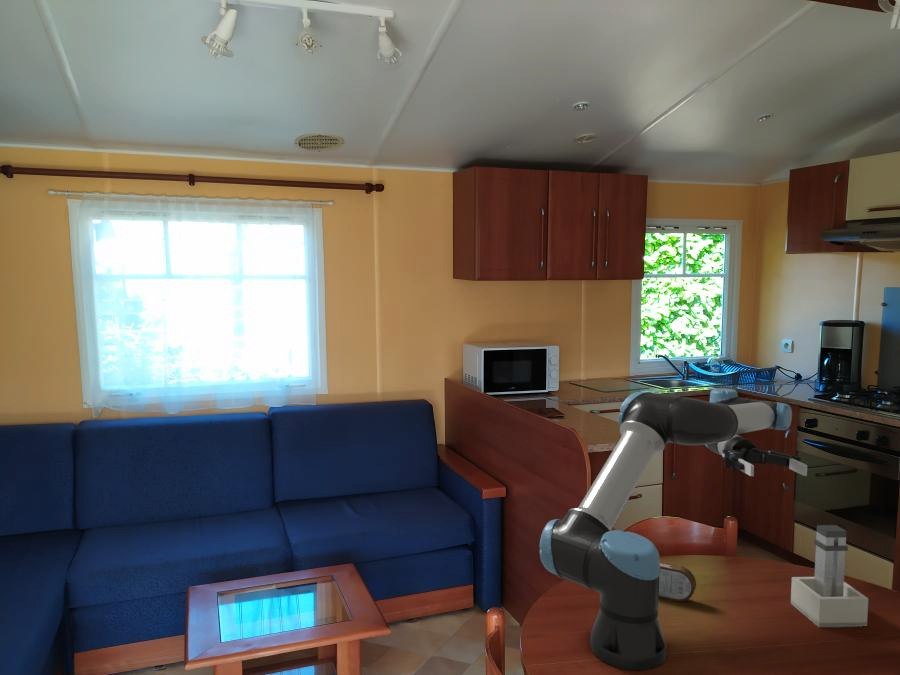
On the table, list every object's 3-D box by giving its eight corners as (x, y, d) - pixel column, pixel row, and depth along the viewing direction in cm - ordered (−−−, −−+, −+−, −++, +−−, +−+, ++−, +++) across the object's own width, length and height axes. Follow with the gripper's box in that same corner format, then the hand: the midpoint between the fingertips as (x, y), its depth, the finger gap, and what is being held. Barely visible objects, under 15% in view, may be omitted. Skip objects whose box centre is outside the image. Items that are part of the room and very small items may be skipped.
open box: (818, 627, 143) (820, 599, 142) (790, 603, 154) (791, 577, 153) (866, 626, 143) (868, 598, 143) (835, 602, 154) (836, 576, 154)
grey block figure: (822, 615, 146) (827, 532, 145) (810, 605, 151) (814, 524, 149) (845, 615, 146) (849, 531, 145) (831, 605, 151) (835, 524, 150)
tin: (695, 600, 155) (696, 566, 154) (694, 606, 152) (695, 572, 152) (632, 587, 162) (633, 554, 161) (629, 592, 159) (630, 559, 158)
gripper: (780, 462, 182) (827, 485, 161) (693, 463, 181) (729, 485, 160) (781, 436, 181) (828, 455, 160) (694, 436, 180) (730, 456, 159)
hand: (779, 470), depth 160 cm, fingers open, 13 cm apart
